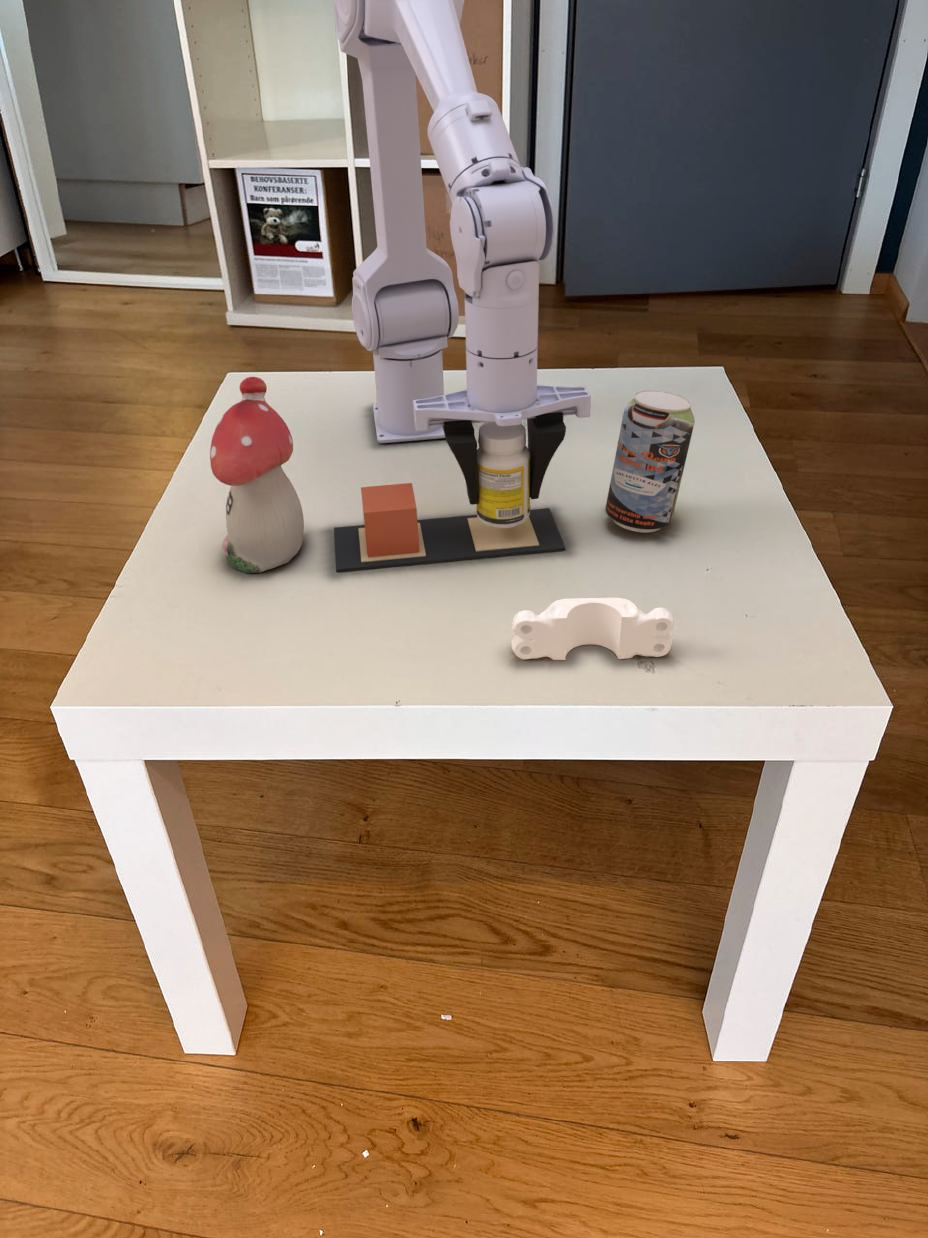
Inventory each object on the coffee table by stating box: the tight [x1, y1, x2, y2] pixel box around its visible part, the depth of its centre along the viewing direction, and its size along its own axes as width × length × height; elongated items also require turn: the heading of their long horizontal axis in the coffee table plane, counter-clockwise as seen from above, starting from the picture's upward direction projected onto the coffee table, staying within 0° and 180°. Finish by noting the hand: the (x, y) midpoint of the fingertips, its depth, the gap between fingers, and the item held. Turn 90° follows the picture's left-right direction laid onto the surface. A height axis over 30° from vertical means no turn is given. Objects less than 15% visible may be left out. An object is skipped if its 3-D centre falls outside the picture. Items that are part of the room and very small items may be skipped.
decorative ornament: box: [209, 376, 305, 574], centre depth 82 cm, size 9×7×15 cm
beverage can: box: [605, 389, 696, 533], centre depth 86 cm, size 6×7×12 cm
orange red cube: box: [360, 482, 419, 557], centre depth 86 cm, size 4×4×4 cm
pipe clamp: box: [510, 597, 675, 661], centre depth 73 cm, size 12×2×4 cm, turn 90°
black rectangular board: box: [333, 507, 566, 573], centre depth 87 cm, size 7×20×1 cm, turn 98°
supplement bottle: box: [475, 422, 531, 528], centre depth 84 cm, size 5×5×8 cm
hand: (502, 496), depth 86 cm, fingers closed on supplement bottle, 5 cm apart
